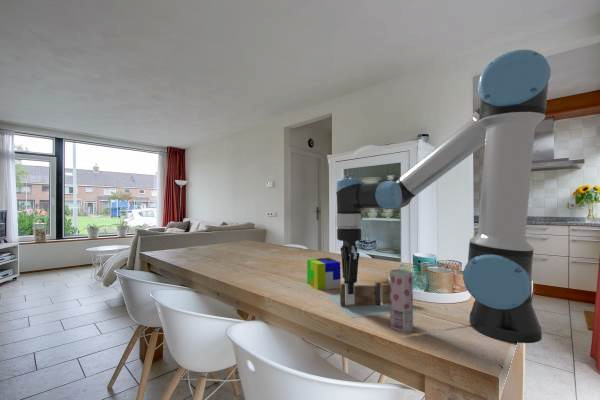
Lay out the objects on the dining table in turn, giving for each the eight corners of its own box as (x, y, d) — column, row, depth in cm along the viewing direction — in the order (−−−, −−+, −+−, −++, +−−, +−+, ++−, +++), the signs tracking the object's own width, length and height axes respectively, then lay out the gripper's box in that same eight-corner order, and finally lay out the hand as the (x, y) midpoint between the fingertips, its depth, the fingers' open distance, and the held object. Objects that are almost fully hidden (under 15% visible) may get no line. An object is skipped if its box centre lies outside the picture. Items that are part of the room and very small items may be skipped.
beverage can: (407, 323, 77) (406, 268, 77) (417, 333, 71) (416, 274, 71) (387, 323, 76) (386, 269, 77) (395, 333, 71) (394, 274, 71)
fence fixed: (400, 300, 93) (400, 280, 93) (403, 301, 92) (403, 281, 92) (380, 302, 91) (380, 282, 91) (383, 304, 89) (383, 283, 90)
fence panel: (379, 303, 91) (379, 282, 91) (381, 305, 89) (381, 283, 89) (339, 305, 90) (339, 283, 90) (340, 307, 88) (340, 284, 88)
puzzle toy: (340, 287, 110) (340, 262, 110) (317, 290, 106) (317, 264, 106) (328, 281, 119) (328, 257, 119) (307, 283, 116) (307, 259, 116)
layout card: (417, 310, 86) (417, 309, 86) (352, 319, 80) (352, 317, 80) (382, 291, 105) (382, 289, 105) (326, 296, 99) (326, 295, 99)
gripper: (367, 228, 81) (368, 310, 80) (354, 226, 94) (355, 297, 93) (342, 229, 81) (343, 311, 80) (332, 226, 93) (333, 297, 92)
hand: (349, 303), depth 86 cm, fingers closed
